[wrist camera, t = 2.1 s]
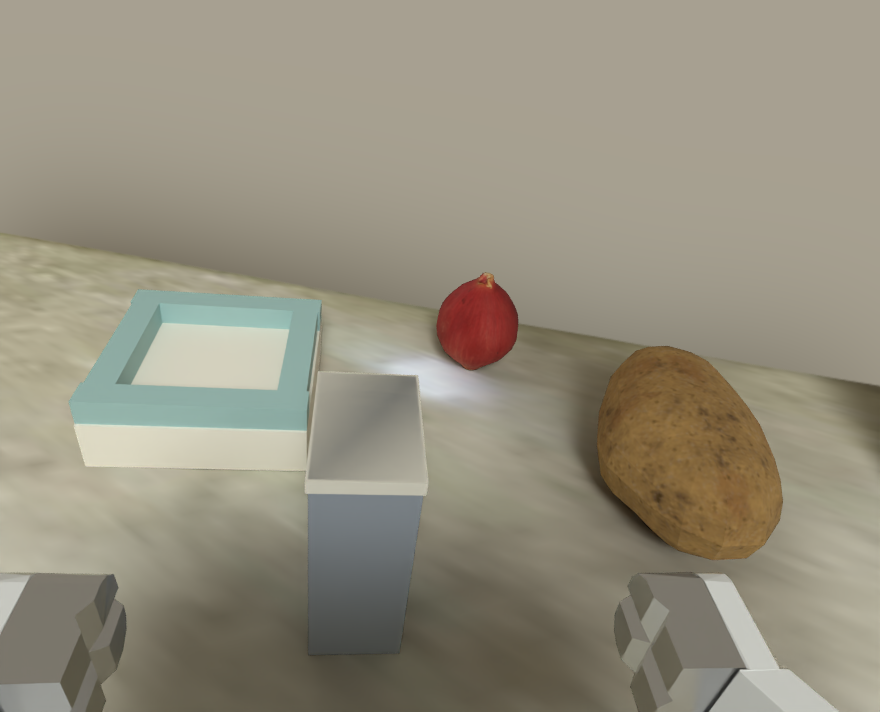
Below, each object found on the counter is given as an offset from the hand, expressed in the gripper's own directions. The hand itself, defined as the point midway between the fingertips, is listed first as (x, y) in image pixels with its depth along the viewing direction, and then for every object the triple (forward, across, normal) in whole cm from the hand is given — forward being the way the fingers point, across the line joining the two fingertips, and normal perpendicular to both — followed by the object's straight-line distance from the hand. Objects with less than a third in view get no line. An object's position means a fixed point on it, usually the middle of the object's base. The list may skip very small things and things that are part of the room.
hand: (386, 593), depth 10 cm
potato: (+18, -18, +18) cm, 31 cm away
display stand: (+26, +9, +18) cm, 33 cm away
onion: (+31, -8, +18) cm, 37 cm away
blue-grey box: (+12, 0, +18) cm, 22 cm away
